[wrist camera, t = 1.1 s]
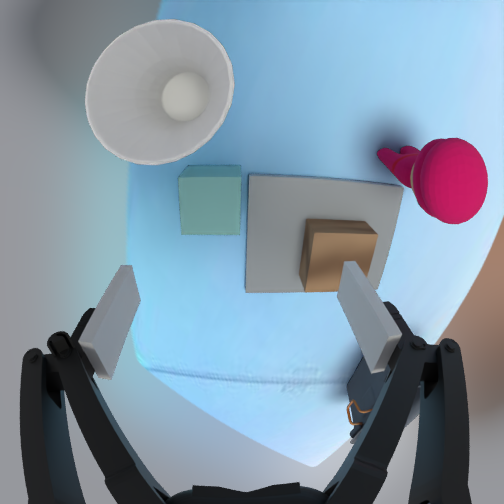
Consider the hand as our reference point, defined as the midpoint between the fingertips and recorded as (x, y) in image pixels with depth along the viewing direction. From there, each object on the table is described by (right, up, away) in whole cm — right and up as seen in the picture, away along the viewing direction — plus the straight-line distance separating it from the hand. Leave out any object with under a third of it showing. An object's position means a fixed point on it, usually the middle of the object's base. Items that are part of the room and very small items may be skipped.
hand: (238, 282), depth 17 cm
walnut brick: (+11, +2, +19) cm, 22 cm away
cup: (-6, +19, +10) cm, 22 cm away
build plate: (+10, +4, +19) cm, 22 cm away
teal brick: (-4, +9, +15) cm, 18 cm away
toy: (+19, +14, +14) cm, 27 cm away
